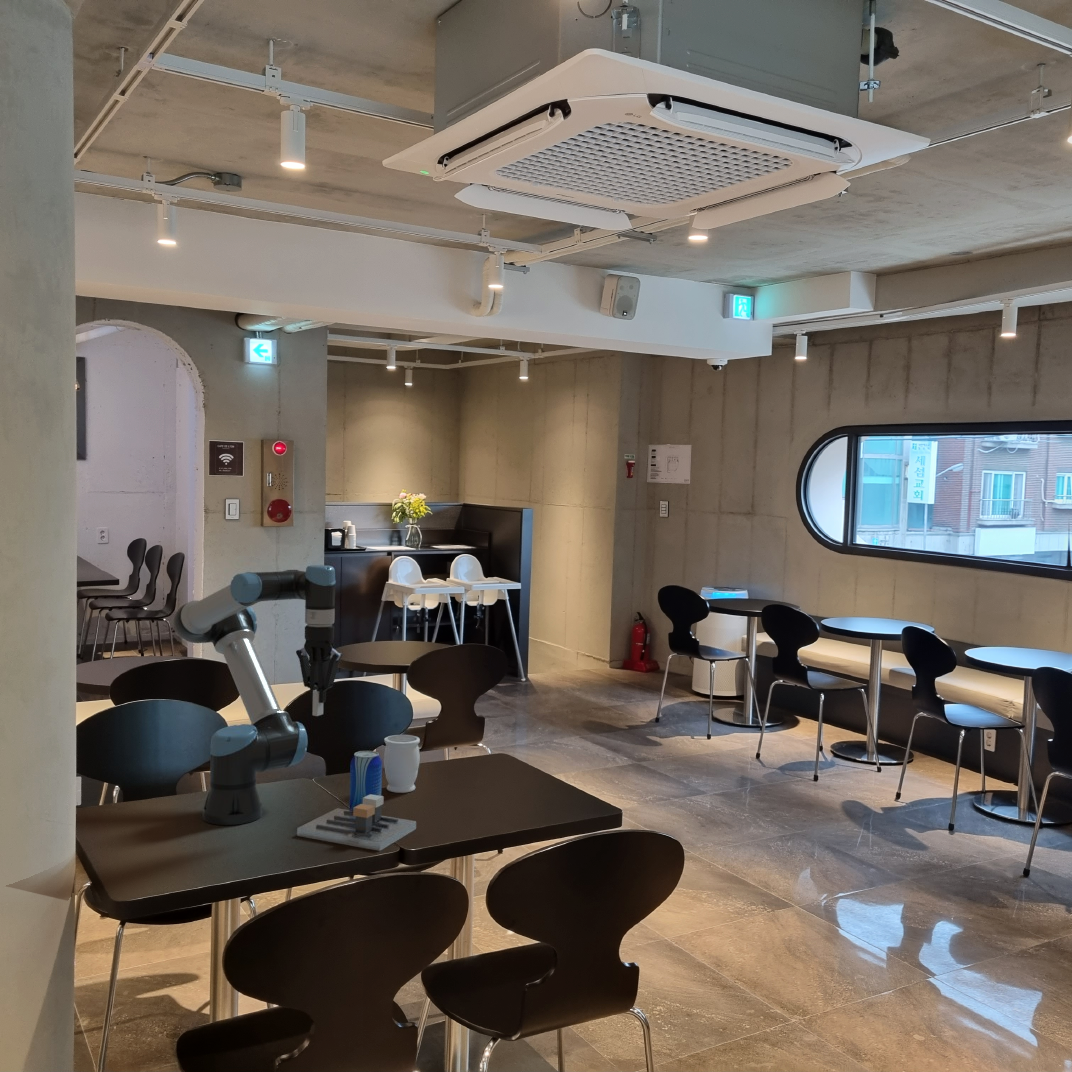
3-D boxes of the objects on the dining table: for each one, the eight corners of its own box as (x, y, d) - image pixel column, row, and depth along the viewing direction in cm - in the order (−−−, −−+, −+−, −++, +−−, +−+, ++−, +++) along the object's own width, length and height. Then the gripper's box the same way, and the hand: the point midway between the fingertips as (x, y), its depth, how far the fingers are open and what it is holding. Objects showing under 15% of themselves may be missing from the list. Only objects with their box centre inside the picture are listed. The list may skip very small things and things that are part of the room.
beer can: (374, 818, 268) (375, 758, 268) (344, 815, 270) (345, 756, 269) (385, 808, 277) (386, 751, 276) (356, 806, 278) (357, 748, 278)
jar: (380, 785, 299) (381, 735, 298) (415, 783, 302) (416, 733, 301) (386, 795, 289) (387, 743, 288) (421, 793, 292) (423, 742, 291)
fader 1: (362, 820, 259) (362, 797, 258) (369, 817, 262) (370, 794, 262) (375, 823, 257) (376, 800, 257) (383, 819, 261) (383, 796, 260)
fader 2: (352, 831, 250) (353, 807, 250) (360, 827, 254) (361, 803, 254) (366, 833, 249) (367, 810, 249) (374, 829, 252) (374, 806, 252)
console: (297, 835, 253) (297, 825, 253) (337, 815, 270) (337, 805, 269) (379, 850, 244) (380, 840, 244) (416, 828, 261) (416, 819, 260)
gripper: (290, 624, 261) (288, 714, 262) (332, 628, 256) (330, 720, 257) (307, 621, 268) (305, 709, 269) (348, 625, 263) (347, 714, 264)
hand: (317, 714), depth 263 cm, fingers closed
